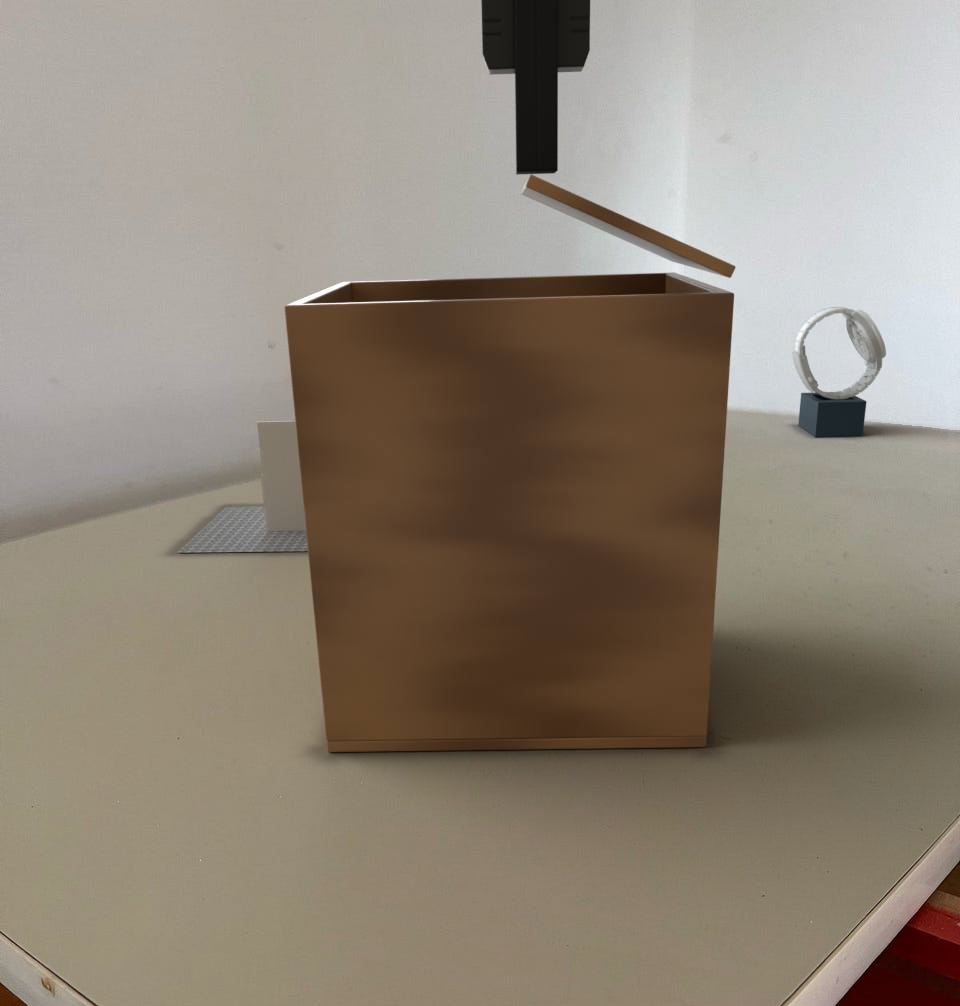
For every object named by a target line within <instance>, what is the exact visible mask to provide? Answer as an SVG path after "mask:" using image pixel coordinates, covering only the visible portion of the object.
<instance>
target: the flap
mask: <svg viewBox="0 0 960 1006" xmlns="http://www.w3.org/2000/svg"><path fill="white" fill-rule="evenodd" d="M520 195H522V196H523V197H526V198H529V199H531V200H533V201H535V202H538V203H539V204H542V205H545V206H547V207H549V208H551V209H553V210H555V211H558V212H560V213H562V214H563V215H566V216H569V217H571V218H573V219H575V220H578V221H580V222H582V223H584V224H587V225H588V226H591V227H594V228H596V229H598V230H600V231H602V232H605V233H607V234H609V235H612V236H613V237H616V238H617V239H620V240H623V241H625V242H627V243H629V244H632V245H633V246H636V247H639V248H641V249H643V250H645V251H647V252H650V253H651V254H653V255H656V256H658V257H661V258H663V259H666V260H668V261H670V262H673V263H676V264H679V265H683V266H687V267H690V268H692V269H697V270H701V271H704V272H708V273H710V274H713V275H718V276H722V277H725V278H729V279H731V278H732V276H733V274H734V272H735V270H736V265H735V264H731V263H730V262H727V261H725V260H724V259H723V260H722V259H720V258H719V257H716V256H714V255H712V254H710V253H707V252H705V251H703V250H701V249H698V248H696V247H694V246H692V245H689V244H687V243H685V242H683V241H681V240H678V239H676V238H674V237H672V236H669V235H667V234H665V233H663V232H661V231H658V230H656V229H654V228H652V227H649V226H647V225H646V224H643V223H641V222H638V221H636V220H634V219H631V218H629V217H627V216H624V215H622V214H621V213H618V212H617V211H614V210H612V209H610V208H607V207H605V206H604V205H603V206H602V205H601V204H598V203H596V202H594V201H592V200H589V199H587V198H585V197H582V196H581V195H578V194H576V193H575V192H571V191H569V190H568V189H565V188H562V187H560V186H558V185H556V184H553V183H551V182H549V181H547V180H544V179H542V178H540V177H539V176H536V175H535V174H529V175H528V177H527V179H526V181H525V183H524V185H523V187H522V189H521V192H520Z"/></svg>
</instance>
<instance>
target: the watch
mask: <svg viewBox="0 0 960 1006" xmlns="http://www.w3.org/2000/svg"><path fill="white" fill-rule="evenodd" d="M835 314H836V315H837V314H841V315H842V316H843V317H844V318H845V325H846V327H845V328H846V331H847V335H848V336H849V337H848V338H849V339H850V341H851V343H852V345H853V346H854V349H855V350H856V352H857V353H858V355H860V356H861V358H862V359H863V362H864V365H865V366H866V369H865V372H864V373H862V374H861V376H860V378H859V379H858V380H857V381H856V382H854V383H853V384H852V385H851V387H850V386H848V387H847V388H845V389H842V390H838V391H823V390H821V389H820V388H819V383H818V380H816V379H815V376H814V375H813V372H812V370H811V367H810V364H809V360H808V355H807V354H806V345H805V340H806V339H807V337H808V334H809V333H810V331H811V330H812V329H813V328H814V327H815V326H816V325H817V324H818V323H820V322H821V321H822V320H824V319H825V318H828V317H830V316H833V315H835ZM792 348H793V349H792V351H791V355H792V361H793V364H794V367H795V370H796V373H797V375H798V377H799V379H800V380H801V383H802V384H803V385H804V387H805V388H806V389H807V390H808V391H809V392H800V402H799V412H798V413H799V414H798V425H797V426H798V427H799V428H801V429H802V430H804V431H806V432H807V434H810V435H811V436H813V437H814V438H831V437H834V438H835V437H836V438H837V437H863V435H864V427H865V418H866V409H867V400H865V399H863V398H861V397H859V396H858V395H859V394H860V393H862V392H864V391H865V390H867V388H869V386H871V384H873V382H874V381H875V380H876V377H877V376H878V375H879V373H880V371H881V369H882V367H883V359H884V358H885V357H886V356H887V349H886V348H887V347H886V345H885V342H884V339H883V337H882V334H881V332H880V330H879V329H878V327H877V325H876V323H875V322H874V321H873V319H872V317H871V316H870V315H869V314H868V313H867V312H866V311H864V310H863V309H861V308H858V309H857V310H855V309H851V308H847V307H842V306H831V307H827V308H822V309H820V310H818V311H817V312H814V313H813V314H812V315H810V316H808V318H807V319H806V320H804V321H803V323H802V324H801V325H800V327H799V329H798V330H797V332H796V334H795V337H794V340H793V347H792Z"/></svg>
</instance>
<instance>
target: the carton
mask: <svg viewBox="0 0 960 1006" xmlns="http://www.w3.org/2000/svg"><path fill="white" fill-rule="evenodd" d="M734 307H735V293H734V292H731V291H730V290H727V289H724V288H720V287H717V286H715V285H712V284H709V283H707V282H704V281H700V280H697V279H694V278H692V277H689V276H687V275H683V274H680V273H677V272H643V273H642V272H641V273H640V272H639V273H607V274H606V273H605V274H573V275H572V274H571V275H540V276H539V275H538V276H535V275H534V276H506V277H505V276H504V277H503V276H501V277H471V278H470V277H469V278H436V279H403V280H402V279H400V280H365V281H342V282H340V283H337V284H335V285H332V286H330V287H327V288H324V289H323V290H320V291H318V292H317V291H316V292H315V293H313V294H310V295H308V296H306V297H303V298H300V299H298V300H295V301H292V302H291V303H288V304H286V305H284V307H283V308H284V317H285V326H286V327H285V328H286V339H287V347H288V349H287V350H288V359H289V369H290V380H291V390H292V399H293V410H294V421H296V432H297V442H298V452H299V463H300V473H301V483H302V494H303V504H304V514H305V525H306V535H307V545H308V551H307V553H308V554H307V555H308V567H309V575H310V576H309V577H310V586H311V596H312V607H313V617H314V626H315V627H314V628H315V637H316V639H315V640H316V648H317V656H318V668H319V679H320V689H321V700H322V709H323V721H324V730H325V740H326V750H327V752H328V753H350V752H351V753H357V752H359V753H362V752H363V753H364V752H431V751H433V752H437V751H441V752H442V751H505V750H507V751H508V750H509V751H510V750H511V751H513V750H515V751H516V750H520V751H521V750H579V749H581V750H582V749H583V750H587V749H591V750H593V749H660V748H661V749H662V748H663V749H664V748H706V746H707V737H708V736H707V733H708V723H709V722H708V720H709V707H710V704H709V703H710V689H711V688H710V687H711V686H710V685H711V674H712V673H711V671H712V657H713V656H712V655H713V643H714V642H713V640H714V627H715V625H714V623H715V609H716V595H717V593H716V592H717V576H718V561H719V548H720V547H719V546H720V545H719V544H720V529H721V516H722V515H721V513H722V496H723V482H724V466H725V465H724V464H725V449H726V435H727V434H726V432H727V417H728V400H729V386H730V384H729V383H730V369H731V355H732V337H733V321H734Z"/></svg>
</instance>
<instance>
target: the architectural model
mask: <svg viewBox="0 0 960 1006" xmlns="http://www.w3.org/2000/svg"><path fill="white" fill-rule="evenodd" d="M256 425H257V434H258V442H259V451H260V462H261V471H260V479H261V480H260V483H261V489H262V499H263V506H262V505H261V506H260V505H259V506H256V505H255V506H226V507H224V509H222V510H221V511H220V512H219V513H218V514H217V515H216V516H215V517H214V518H213V519H212V520H211V521H210V522H208V524H206V525H205V526H204V527H203V528H202V529H201V530H200V531H199V532H198V533H197V534H195V535H194V536H193V537H192V538H191V539H190V540H189V541H188V542H187V543H186V544H185V545H184V546H183V547H182V548H181V549H179V550H178V551H177V553H178V554H179V553H183V554H184V553H186V554H187V553H260V552H263V553H264V552H267V553H268V552H273V553H274V552H308V545H307V535H306V525H305V514H304V504H303V494H302V483H301V473H300V463H299V452H298V442H297V432H296V421H295V420H271V421H270V420H269V421H268V420H267V421H264V420H263V421H262V420H261V421H257V422H256Z"/></svg>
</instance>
